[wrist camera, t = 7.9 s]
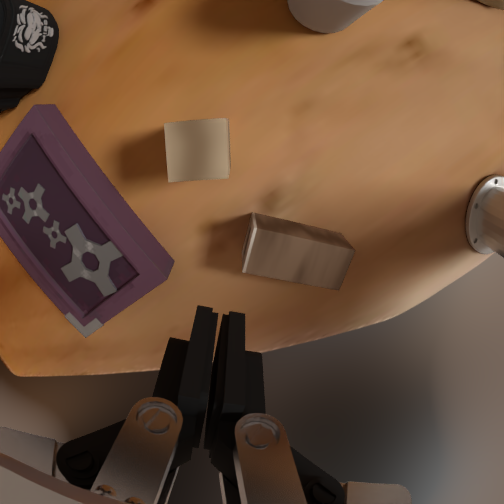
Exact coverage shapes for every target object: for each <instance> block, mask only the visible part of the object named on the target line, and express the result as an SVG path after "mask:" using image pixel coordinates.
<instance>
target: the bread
mask: <svg viewBox="0 0 504 504" xmlns="http://www.w3.org/2000/svg"><path fill="white" fill-rule="evenodd" d="M478 1H479V2H481V3H483V4H486V5H489V6H491V7H494V8H497V9H501V10H504V0H478Z"/></svg>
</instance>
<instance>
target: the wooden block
mask: <svg viewBox="0 0 504 504" xmlns="http://www.w3.org/2000/svg"><path fill="white" fill-rule="evenodd" d="M354 252H355V250H354V248H353V247H352V246H351V245H350V244H349V242H348V241H347V240H346V239H345V238H344V236H343V235H342V234H341V233H337V232H333V231H329V230H325V229H321V228H317V227H313V226H309V225H305V224H300V223H296V222H292V221H288V220H283V219H279V218H275V217H270V216H266V215H261V214H257V213H252V214H251V218H250V222H249V226H248V230H247V234H246V238H245V241H244V245H243V249H242V272H243V273H248V274H253V275H258V276H263V277H269V278H274V279H279V280H285V281H290V282H295V283H301V284H306V285H312V286H317V287H323V288H328V289H334V290H339V289H340V287H341V284H342V282H343V280H344V277H345V275H346V272H347V270H348V267H349V265H350V262H351V260H352V257H353V255H354Z"/></svg>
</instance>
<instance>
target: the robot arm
mask: <svg viewBox="0 0 504 504" xmlns="http://www.w3.org/2000/svg"><path fill="white" fill-rule="evenodd" d="M466 235H467V238H468V241H469V243H470V245H471V246H472V247H473V248H474V249H475V250H476V251H478V252H479V253H481V254H490V253H493V252H496V253H498V254H499V255H500V256H502V257H503V258H504V177H503V176H500V175H492V176H489V177H487V178H486V179H484V180H483V181H482V182H481V183H480V184H479V185H478V187H477V188H476V190H475V191H474V193H473V195H472V197H471V200H470V203H469V206H468V210H467V215H466ZM212 311H213V308H209V307H204V306H199V305H198V306H197V311H196V315H195V319H194V324H193V328H192V332H191V337H190V341H186V340H181V339H176V338H171V337H170V338H169V341H168V344H167V348H166V351H165V354H164V358H163V361H162V364H161V368H160V372H159V375H158V378H157V382H156V386H155V389H154V393H153V396H152V397H149V398H145V399H142V400H140V401H139V402H137V403H136V404H135V405H134V406H133V408H132V409H131V411H130V413H129V415H128V417H127V419H125V420H123V421H120V422H118V423H115V424H113V425H111V426H108V427H106V428H103V429H100V430H98V431H95V432H93V433H90V434H87V435H85V436H82V437H80V438H77V439H74V440H71V441H69V442H67V443H61V442H56V440H55V439H51V438H47V437H42V436H38V435H33V434H29V433H25V432H21V431H17V430H14V429H10V428H6V427H0V504H167V502H168V498H169V496H170V492H171V490H172V487H173V484H174V481H175V478H176V475H177V471H178V469H179V466H180V465H182V464H184V463H186V462H187V461H189V460H191V453H192V447H195V448H199V443H200V438H201V432H202V428H203V423H204V418H205V413H206V407H207V402H208V409H207V418H206V428H205V438H204V449H208V450H210V451H209V458H211V463H212V464H213V465H214V466H215V467H216V468H217V469H218V470H219V477H220V485H221V492H222V498H223V504H412V501H411V495H410V493H409V491H408V490H407V489H406V488H405V487H403V486H402V485H397V484H375V483H361V482H350V481H348V482H347V483H339V482H338V481H337V480H336V479H334V478H333V477H332V476H330V475H329V474H327V473H326V472H325V471H323V470H322V469H320V468H319V467H317V466H316V465H315V464H313V463H312V462H311V461H309V460H308V459H307V458H305V457H304V456H302V455H301V454H300V453H299V452H297V451H296V450H295V449H293V448H292V447H291V446H290V445H289V442H288V439H287V435H286V432H285V430H284V428H283V426H282V424H281V423H280V422H279V421H278V420H277V419H275V418H273V417H272V416H269V415H266V414H265V397H264V381H263V366H262V354H261V353H259V352H251V351H245V314H244V313H238V312H232V311H230V312H229V315H225V314H223V316H222V321H221V326H220V331H219V336H218V341H217V346H216V351H215V356H214V361H213V352H214V344H215V336H216V328H217V320H218V313H214V312H212ZM212 361H213V366H212ZM211 370H212V372H211ZM210 378H211V380H210ZM209 387H210V390H209ZM208 396H209V399H208Z"/></svg>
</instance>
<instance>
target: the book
mask: <svg viewBox="0 0 504 504" xmlns="http://www.w3.org/2000/svg"><path fill="white" fill-rule="evenodd" d="M0 236H1V238H2V239H3V241H4V242H5V243H6V245H7V246H8V248H9V249H10V250H11V252H12V253H13V254H14V256H15V257H16V258H17V260H18V261H19V262H20V264H21V265H22V266H23V267H24V269H25V270H26V271H27V272H28V274H29V275H30V276H31V277H32V279H33V280H34V281H35V282H36V283H37V285H38V286H39V287H40V288H41V289H42V291H43V292H44V293H45V294H46V295H47V296H48V297H49V299H50V300H51V301H52V302H53V303H54V304H55V305H56V306H57V307H58V308H59V310H60V311H61V312H62V313H63V314H64V315H65V318H66V319H67V320H68V321H69V322H70V323H71V324H72V325H73V326H74V327H75V328H76V329H77V330H78V331H79V332H80V333H81V334H82V335H83V336H84V337H85V338H86V337H88V336H89V335H91V334H92V333H93V332H95V331H96V330H98V329H99V328H100V327H102V326H103V325H104V323H105V322H107V321H108V320H110V319H111V318H112V317H114V316H115V315H117V314H118V313H120V312H121V311H122V310H124V309H125V308H127V307H128V306H130V305H131V304H132V303H134V302H135V301H137V300H138V299H140V298H141V297H142V296H144V295H145V294H147V293H148V292H150V291H151V290H153V289H154V288H155V287H157V286H158V285H160V284H161V283H163V282H164V281H166V280H167V279H168V276H169V274H170V271H171V269H172V266H173V264H174V262H175V261H174V260H173V259H172V257H171V256H170V255H169V254H168V253H167V252H166V250H165V249H164V248H163V247H162V246H161V244H160V243H159V242H158V241H157V240H156V238H155V237H154V236H153V235H152V234H151V232H150V231H149V230H148V229H147V227H146V226H145V225H144V224H143V223H142V221H141V220H140V219H139V218H138V216H137V215H136V214H135V213H134V211H133V210H132V209H131V208H130V206H129V205H128V204H127V203H126V201H125V200H124V199H123V197H122V196H121V195H120V194H119V192H118V191H117V190H116V188H115V187H114V186H113V185H112V183H111V182H110V181H109V179H108V178H107V177H106V175H105V174H104V173H103V171H102V170H101V169H100V167H99V166H98V165H97V163H96V162H95V161H94V159H93V158H92V157H91V155H90V154H89V152H88V151H87V150H86V148H85V147H84V146H83V144H82V143H81V141H80V140H79V139H78V137H77V136H76V134H75V133H74V131H73V130H72V129H71V127H70V126H69V124H68V123H67V121H66V120H65V119H64V117H63V116H62V114H61V113H60V111H59V110H58V108H57V107H56V105H55V104H47V105H34V106H33V107H32V108H31V109H30V111H29V112H28V113H27V115H26V116H25V117H24V119H23V120H22V121H21V123H20V124H19V126H18V127H17V128H16V130H15V131H14V133H13V134H12V135H11V137H10V138H9V140H8V141H7V143H6V144H5V146H4V147H3V149H2V151H1V152H0Z"/></svg>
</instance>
